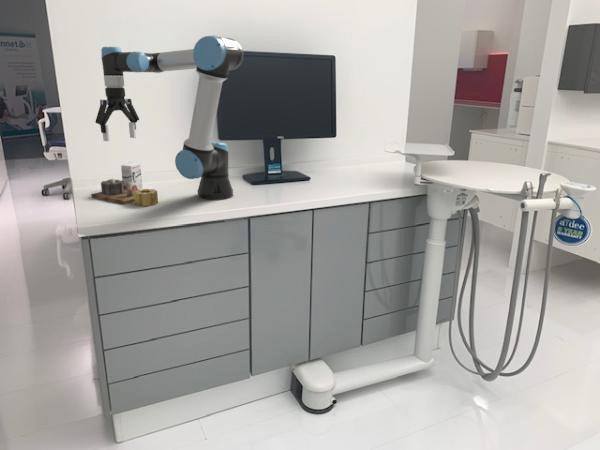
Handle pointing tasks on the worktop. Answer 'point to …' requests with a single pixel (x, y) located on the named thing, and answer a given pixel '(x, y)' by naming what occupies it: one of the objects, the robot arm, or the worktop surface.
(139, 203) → the brass gear
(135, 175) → the ink box
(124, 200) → the gear board
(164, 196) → the worktop surface
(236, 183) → the worktop surface
